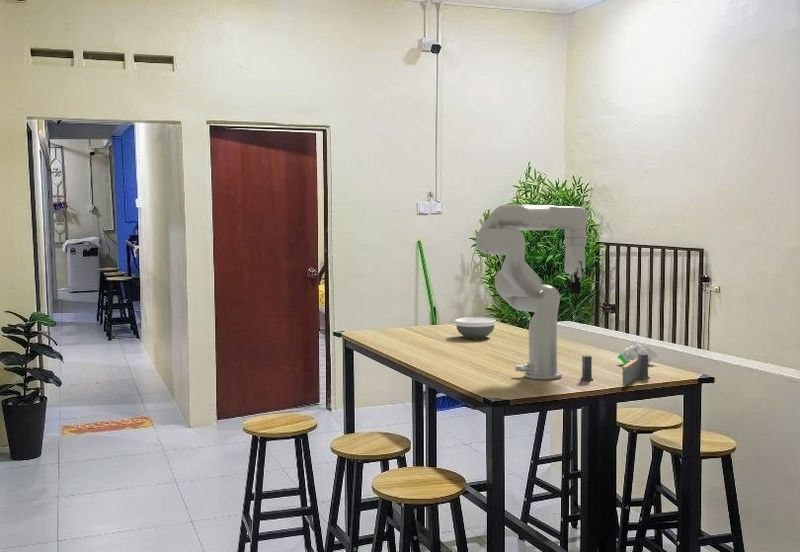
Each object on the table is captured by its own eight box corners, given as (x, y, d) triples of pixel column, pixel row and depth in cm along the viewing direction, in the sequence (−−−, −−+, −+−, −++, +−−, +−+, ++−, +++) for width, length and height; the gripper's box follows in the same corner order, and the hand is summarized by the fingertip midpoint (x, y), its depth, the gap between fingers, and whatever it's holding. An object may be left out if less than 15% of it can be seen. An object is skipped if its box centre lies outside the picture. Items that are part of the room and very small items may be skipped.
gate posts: (583, 380, 265) (583, 357, 264) (580, 379, 268) (580, 355, 267) (649, 378, 267) (649, 354, 266) (645, 376, 270) (645, 353, 269)
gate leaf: (626, 385, 254) (626, 367, 254) (621, 385, 255) (621, 366, 255) (639, 376, 268) (639, 358, 268) (634, 376, 269) (635, 358, 269)
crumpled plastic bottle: (624, 352, 299) (642, 336, 294) (640, 371, 296) (658, 355, 291) (610, 357, 290) (628, 341, 285) (626, 377, 287) (645, 361, 282)
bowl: (462, 341, 352) (461, 323, 351) (449, 335, 370) (449, 318, 369) (502, 339, 356) (501, 321, 355) (487, 333, 374) (487, 316, 374)
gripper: (559, 241, 292) (559, 291, 294) (571, 243, 277) (571, 295, 279) (578, 241, 293) (578, 291, 294) (592, 242, 278) (592, 294, 280)
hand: (575, 293), depth 287 cm, fingers closed
